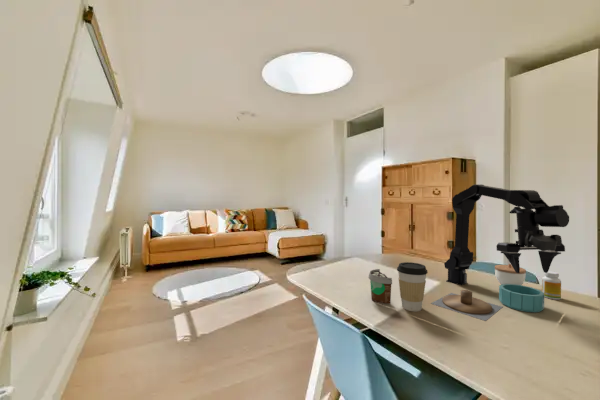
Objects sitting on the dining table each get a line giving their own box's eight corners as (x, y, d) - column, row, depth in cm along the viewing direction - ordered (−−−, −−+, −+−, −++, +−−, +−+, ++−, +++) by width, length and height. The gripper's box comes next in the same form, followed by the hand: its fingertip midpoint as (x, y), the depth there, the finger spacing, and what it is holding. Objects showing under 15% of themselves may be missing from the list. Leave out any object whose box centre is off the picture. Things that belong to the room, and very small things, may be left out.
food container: (363, 294, 107) (364, 269, 107) (378, 293, 107) (379, 268, 107) (375, 307, 95) (375, 278, 94) (392, 306, 95) (392, 278, 95)
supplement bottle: (564, 300, 101) (565, 274, 100) (548, 299, 102) (548, 273, 101) (554, 295, 106) (554, 270, 106) (538, 294, 107) (538, 270, 107)
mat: (430, 304, 97) (430, 303, 97) (451, 293, 107) (451, 292, 107) (485, 322, 83) (485, 320, 83) (502, 307, 94) (502, 306, 94)
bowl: (494, 305, 96) (495, 288, 96) (505, 297, 104) (505, 281, 104) (539, 317, 87) (539, 298, 87) (546, 307, 94) (547, 290, 94)
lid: (434, 303, 97) (434, 290, 96) (452, 293, 106) (452, 281, 106) (483, 318, 85) (483, 303, 85) (498, 306, 94) (498, 292, 94)
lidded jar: (514, 282, 122) (514, 261, 122) (532, 290, 111) (532, 267, 111) (489, 281, 123) (489, 260, 123) (504, 289, 112) (504, 267, 112)
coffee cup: (425, 304, 96) (426, 263, 96) (429, 316, 87) (429, 270, 87) (396, 301, 100) (396, 260, 99) (396, 312, 90) (397, 267, 90)
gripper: (518, 227, 85) (522, 278, 84) (579, 226, 84) (584, 277, 83) (493, 226, 96) (497, 271, 95) (548, 225, 95) (551, 270, 94)
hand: (531, 272), depth 91 cm, fingers open, 9 cm apart
